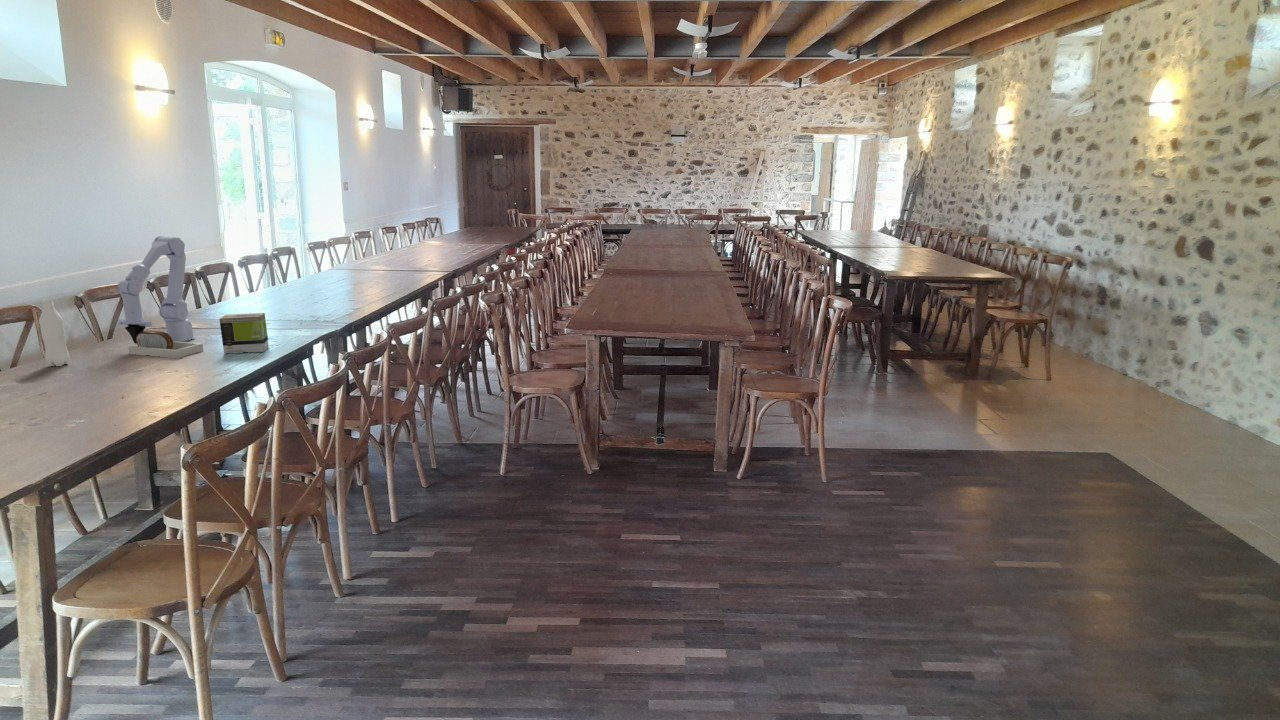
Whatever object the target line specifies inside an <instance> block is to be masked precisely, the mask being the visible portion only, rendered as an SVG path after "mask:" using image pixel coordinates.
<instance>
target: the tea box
mask: <svg viewBox="0 0 1280 720" xmlns="http://www.w3.org/2000/svg"><path fill="white" fill-rule="evenodd" d="M218 320H219V327H220V333H221V339H222V340H221V341H222V347H223V353H224V354H225V355H226V353H230V354H241V353H243V352H248V353H263V352H265V351H266V350H267V349H268V348H269V345H270V344H269V336H268V329H267V319H266V314H265V312H252V313H251V312H249V313H234V314H232V313H230V314H229V313H228V314H224V315H223V316H222V317H220V318H219V319H218ZM243 354H244V353H243Z"/></svg>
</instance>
